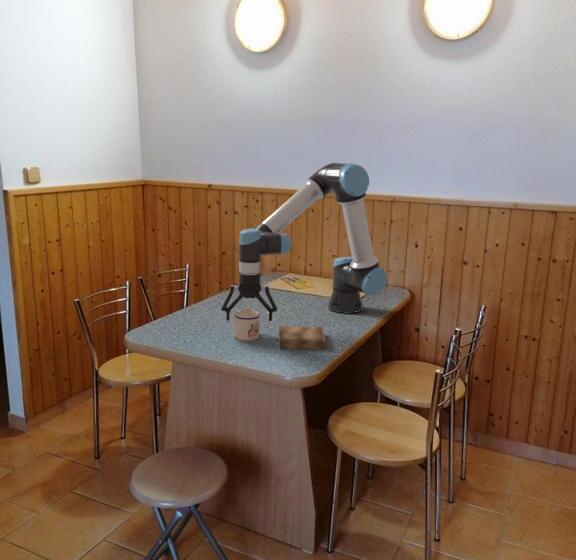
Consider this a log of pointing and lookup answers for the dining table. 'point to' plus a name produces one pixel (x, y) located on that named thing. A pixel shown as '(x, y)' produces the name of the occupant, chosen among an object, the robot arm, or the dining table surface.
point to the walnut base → (301, 337)
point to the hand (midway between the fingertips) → (249, 329)
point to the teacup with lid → (247, 324)
